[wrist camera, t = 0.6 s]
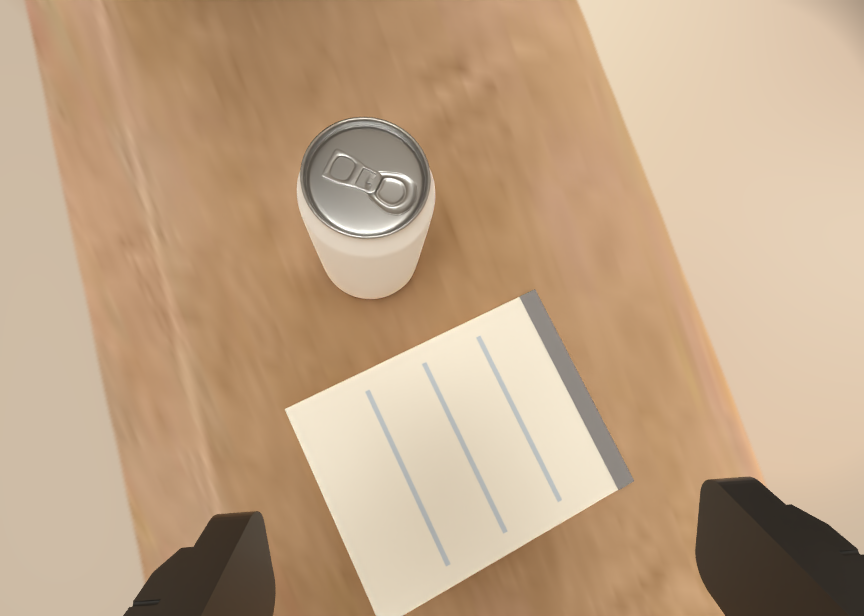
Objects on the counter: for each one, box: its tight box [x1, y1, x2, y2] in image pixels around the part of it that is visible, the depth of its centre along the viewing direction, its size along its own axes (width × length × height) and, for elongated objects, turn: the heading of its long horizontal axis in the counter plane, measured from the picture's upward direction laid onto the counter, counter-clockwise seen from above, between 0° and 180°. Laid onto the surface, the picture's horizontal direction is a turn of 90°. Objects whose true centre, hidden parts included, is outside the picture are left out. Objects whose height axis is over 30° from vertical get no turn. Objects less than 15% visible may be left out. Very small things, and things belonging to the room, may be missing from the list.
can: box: [297, 117, 435, 299], centre depth 26 cm, size 6×6×12 cm
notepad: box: [285, 289, 634, 616], centre depth 31 cm, size 14×18×1 cm
